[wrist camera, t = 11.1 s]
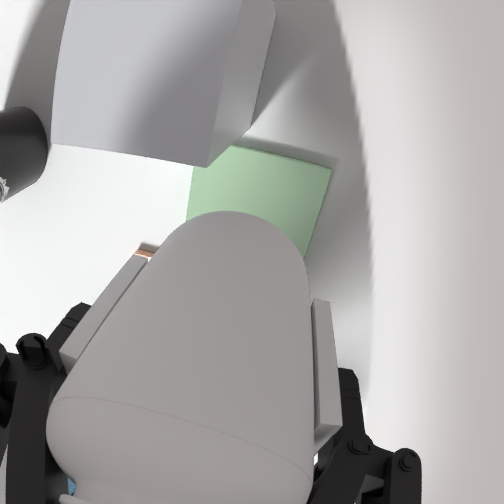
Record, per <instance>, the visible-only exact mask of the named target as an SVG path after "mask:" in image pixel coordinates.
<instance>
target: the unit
mask: <svg viewBox="0 0 504 504" xmlns="http://www.w3.org/2000/svg"><path fill="white" fill-rule="evenodd" d="M275 20H276V10H275V5H274V0H71V1H70V4H69V8H68V12H67V17H66V21H65V25H64V30H63V35H62V40H61V46H60V51H59V57H58V64H57V71H56V78H55V87H54V96H53V107H52V121H51V144H60V145H69V146H77V147H84V148H92V149H99V150H106V151H112V152H119V153H125V154H132V155H138V156H144V157H149V158H155V159H161V160H166V161H172V162H177V163H182V164H187V165H192V166H197V167H202V168H207V167H208V166H209V165H211V164H212V163H213V162H214V161H215V160H216V159H217V158H218V157H219V156H220V155H221V154H222V153H223V152H224V151H225V150H227V149H228V148H229V147H230V146H231V145H232V144H233V143H234V142H235V141H236V140H238V139H239V138H240V137H241V136H242V135H243V134H244V133H245V132H246V131H248V130H249V129H250V127H251V122H252V118H253V113H254V109H255V104H256V100H257V95H258V91H259V87H260V82H261V78H262V74H263V69H264V65H265V61H266V57H267V53H268V48H269V44H270V40H271V36H272V32H273V28H274V24H275Z"/></svg>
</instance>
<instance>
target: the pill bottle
mask: <svg viewBox="0 0 504 504" xmlns="http://www.w3.org/2000/svg"><path fill="white" fill-rule="evenodd" d="M46 438H47V443H48V446H49V449H50V451H51V454H52V456H53V458H54V459H55V461H56V463H57V464H58V466H59V467H60V468H61V470H62V471H63V472H64V473H65V474H66V476H67V477H68V478H69V479H70V480H71V481H72V482H73V483H75V484H76V490H75V492H74V495H73V496H70V495H66V494H62V495H61V496H60V498H59V502H60V503H61V504H306V503H307V500H308V498H309V494H310V492H311V490H312V485H313V473H314V383H313V349H312V325H311V306H310V289H309V278H308V274H307V270H306V266H305V263H304V261H303V258H302V256H301V254H300V252H299V250H298V249H297V247H296V246H295V244H294V243H293V242H292V241H291V239H290V238H289V237H288V236H287V235H286V234H285V233H284V232H282V231H281V230H280V229H279V228H277V227H276V226H275V225H273V224H271V223H270V222H268V221H266V220H264V219H262V218H260V217H257V216H254V215H251V214H248V213H243V212H237V211H215V212H209V213H205V214H202V215H199V216H196V217H194V218H192V219H190V220H188V221H186V222H185V223H183V224H182V225H181V226H179V227H178V228H177V229H176V230H175V231H173V232H172V233H171V234H170V235H169V236H168V237H167V238H166V240H165V241H164V242H163V243H162V245H161V246H160V247H159V249H158V250H157V251H156V252H155V254H154V255H153V256H152V258H151V259H150V260H149V261H148V263H147V264H146V265H145V267H144V268H143V269H142V271H141V272H140V273H139V275H138V276H137V277H136V279H135V280H134V281H133V283H132V284H131V285H130V287H129V288H128V289H127V291H126V292H125V293H124V295H123V296H122V297H121V299H120V300H119V302H118V303H117V304H116V306H115V307H114V309H113V310H112V311H111V313H110V314H109V316H108V317H107V318H106V320H105V321H104V323H103V324H102V326H101V327H100V328H99V330H98V331H97V333H96V334H95V336H94V337H93V339H92V340H91V341H90V343H89V344H88V346H87V347H86V349H85V350H84V352H83V353H82V355H81V356H80V358H79V359H78V361H77V362H76V364H75V366H74V367H73V369H72V370H71V372H70V373H69V375H68V376H67V378H66V380H65V381H64V383H63V384H62V386H61V387H60V389H59V391H58V392H57V394H56V396H55V398H54V399H53V401H52V403H51V406H50V408H49V414H48V418H47V423H46Z"/></svg>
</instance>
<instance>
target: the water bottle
mask: <svg viewBox="0 0 504 504" xmlns="http://www.w3.org/2000/svg"><path fill="white" fill-rule="evenodd" d="M46 160H47V139H46V134H45V130H44V127H43V125H42V123H41V121H40V119H39V118H38V116H37V115H36V114H35V113H34V112H33V111H31V110H30V109H28V108H25V107H18V108H13V109H7V110H2V111H0V204H1V203H2V202H4V201H5V200H7V199H8V198H10V197H12V196H13V195H15V194H16V193H18V192H20V191H21V190H23V189H25V188H27V187H28V186H30V185H32V184H33V183H35V182H36V181H37V180H38V179H39V178H40V176H41V175H42V173H43V171H44V168H45V165H46Z"/></svg>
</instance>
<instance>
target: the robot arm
mask: <svg viewBox="0 0 504 504" xmlns="http://www.w3.org/2000/svg"><path fill="white" fill-rule="evenodd" d="M147 263H148V258H146V257H143V256H139V255H135V254H133V255H132V257H131V258H130V259H129V260H128V261H127V263H126V264H125V265H124V266H123V267H122V269H121V270H120V271H119V272H118V273H117V275H116V276H115V277H114V278H113V280H112V281H111V282H110V283H109V285H108V286H107V287H106V288H105V290H104V291H103V292H102V294H101V295H100V296H99V297H98V299H97V300H96V301H95V303H94V304H93V305H92V306H91V305H88V304H85V303H82V302H81V303H79V304H78V305H76V306H74V307H73V308H71V310H70V311H69V312H68V313H67V315H66V316H65V318H63V320H62V321H61V322H60V325H58V326H57V327H56V329H55V330H54V331H53V332H52V334H51V335H50V336H49V338H48V339H47V340H46V338H45V337H44V336H42V335H41V334H37V333H29V334H26V335H24V336H22V337H21V338H20V339H19V340H18V341H17V343H16V347H17V350H18V352H19V354H14V353H9V352H7V351H6V349H5V347H4V346H3V345H2V344H1V343H0V466H1V462H2V459H3V456H4V453H5V450H6V447H7V444H8V451H7V467H6V504H61V503H60V502H59V498H60V496H61V495H62V494H66V495H70V496H73V495H74V492H75V490H76V484H75V483H73V482H72V481H71V480H70V479H69V478H68V477H67V476H66V474H65V473H64V472H63V471H62V470H61V468H60V467H59V466H58V464H57V463H56V461H55V459H54V458H53V456H52V454H51V451H50V449H49V446H48V443H47V438H46V423H47V418H48V414H49V408H50V406H51V403H52V401H53V399H54V398H55V396H56V394H57V392H58V391H59V389H60V387H61V386H62V384H63V383H64V381H65V380H66V378H67V376H68V375H69V373H70V372H71V370H72V369H73V367H74V366H75V364H76V362H77V361H78V359H79V358H80V356H81V355H82V353H83V352H84V350H85V349H86V347H87V346H88V344H89V343H90V341H91V340H92V339H93V337H94V336H95V334H96V333H97V331H98V330H99V328H100V327H101V326H102V324H103V323H104V321H105V320H106V318H107V317H108V316H109V314H110V313H111V311H112V310H113V309H114V307H115V306H116V304H117V303H118V302H119V300H120V299H121V297H122V296H123V295H124V293H125V292H126V291H127V289H128V288H129V287H130V285H131V284H132V283H133V281H134V280H135V279H136V277H137V276H138V275H139V273H140V272H141V271H142V269H143V268H144V267H145V265H146V264H147ZM311 325H312V349H313V383H314V456H315V455H316V454H317V453H318V462H317V463H316V464H315V465H314V473H313V485H312V490H311V492H310V494H309V498H308V500H307V503H306V504H354V503H355V504H421V492H422V486H421V484H422V470H421V460H420V458H419V456H418V455H417V453H416V452H414V451H413V450H411V449H408V448H401V449H399V450H398V451H396V452H395V453H394V452H391V451H388V450H385V449H382V448H379V447H377V446H375V445H374V444H373V442H372V440H371V439H370V438H369V436H367V435H366V433H365V429H364V420H363V412H362V404H361V401H360V399H361V397H360V392H359V391H360V390H359V383H358V379H357V377H356V375H355V374H354V372H353V370H351V369H344V368H338V367H337V358H336V349H335V340H334V332H333V324H332V316H331V309H330V302H327V301H323V300H318V299H314V300H313V303H312V305H311Z"/></svg>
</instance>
